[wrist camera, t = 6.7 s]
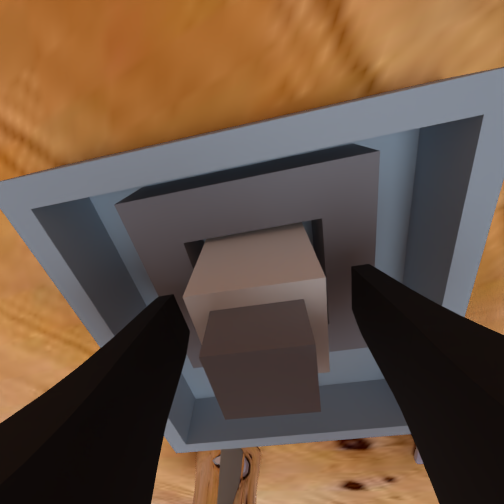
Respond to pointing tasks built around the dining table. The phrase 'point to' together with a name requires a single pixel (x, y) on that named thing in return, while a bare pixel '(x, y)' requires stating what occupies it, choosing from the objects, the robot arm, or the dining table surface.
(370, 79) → the dining table surface
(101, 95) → the dining table surface
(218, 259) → the plug
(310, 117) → the inlet box
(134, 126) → the dining table surface
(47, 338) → the dining table surface
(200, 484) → the beer glass
